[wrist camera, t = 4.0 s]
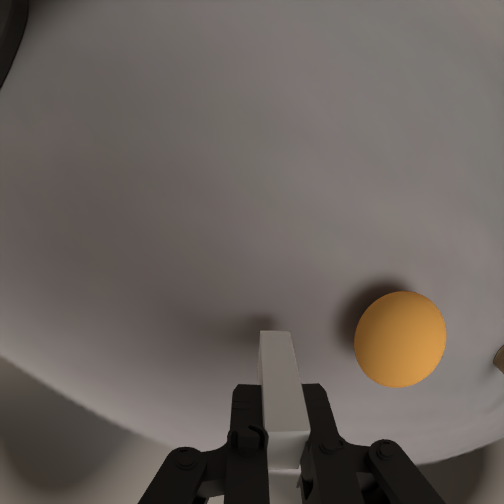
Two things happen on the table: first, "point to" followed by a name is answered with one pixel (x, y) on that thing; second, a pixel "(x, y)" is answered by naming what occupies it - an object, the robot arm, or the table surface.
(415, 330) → the ball
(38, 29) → the table surface
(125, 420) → the table surface
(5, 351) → the table surface
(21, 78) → the table surface
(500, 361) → the post
